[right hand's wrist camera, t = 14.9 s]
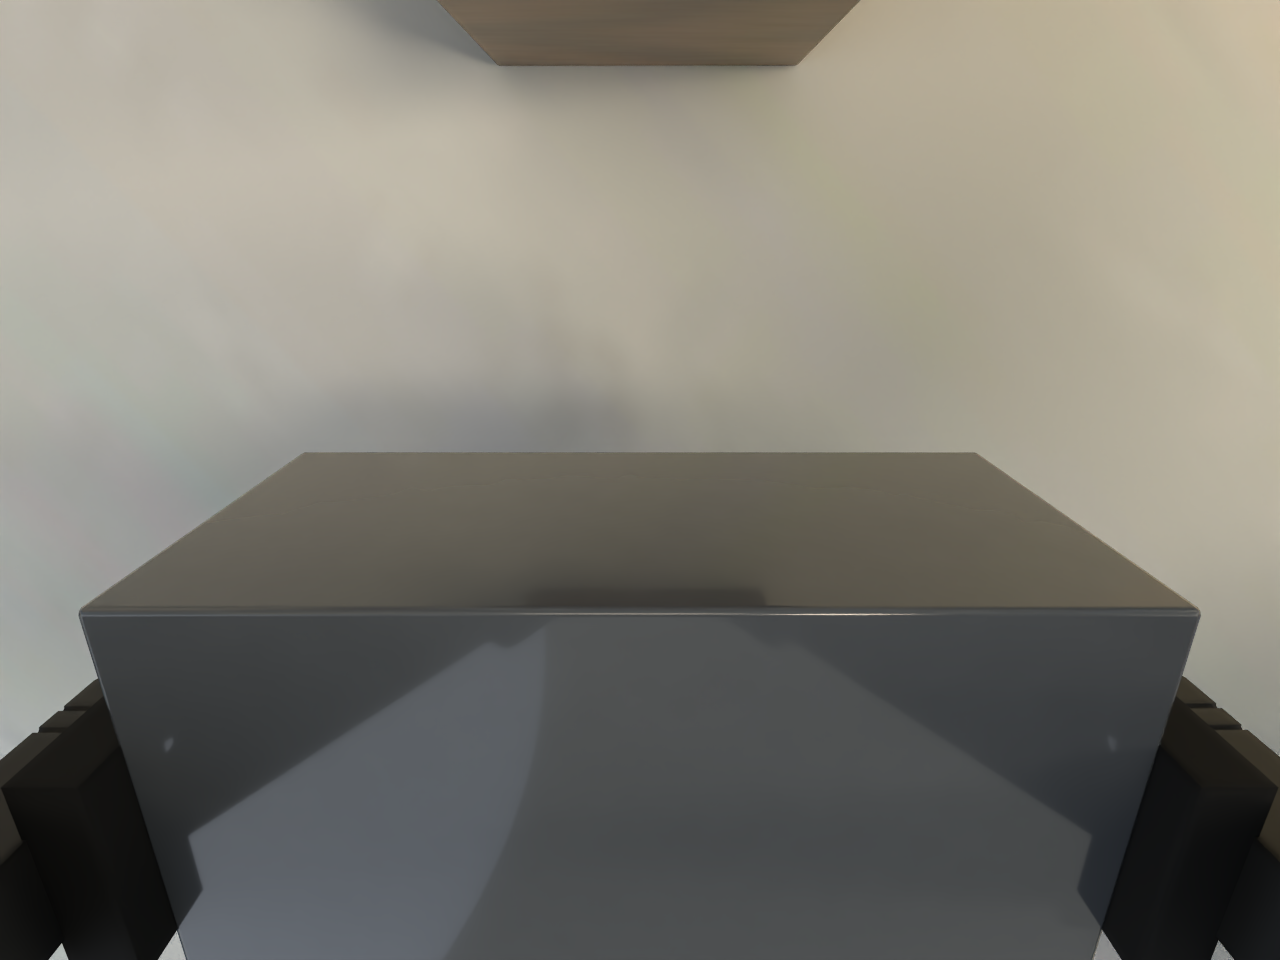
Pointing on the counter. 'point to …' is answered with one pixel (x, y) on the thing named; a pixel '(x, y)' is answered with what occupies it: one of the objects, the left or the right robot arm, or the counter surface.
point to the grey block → (639, 710)
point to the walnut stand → (647, 30)
